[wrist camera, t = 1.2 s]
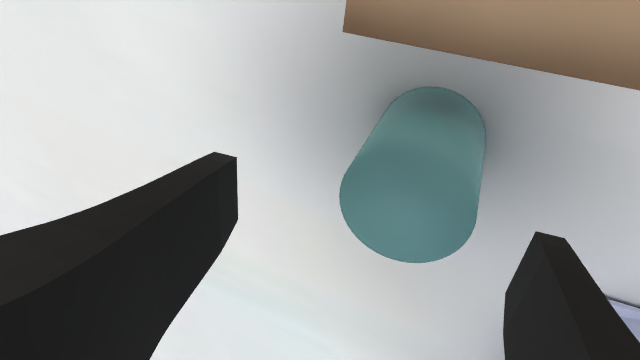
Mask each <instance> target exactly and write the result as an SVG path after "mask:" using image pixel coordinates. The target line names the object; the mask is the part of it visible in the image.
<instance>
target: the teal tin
mask: <svg viewBox="0 0 640 360" xmlns="http://www.w3.org/2000/svg"><path fill="white" fill-rule="evenodd" d="M485 141H486V131H485V126H484V123H483V120H482V117H481V116H480V114H479V112H478V111H477V109H476V108H475V107H474V105H473V104H472V103H471V102H470V101H468V100H467V99H466V98H465V97H463V96H461V95H460V94H458V93H456V92H454V91H451V90H448V89H445V88H439V87H422V88H417V89H414V90H411V91H408V92H406V93H404V94H402V95H401V96H399V97H398V98H397V99H396V100H394V101H393V102H392V103H391V105H390V106H389V107H388V108H387V110H386V111H385V113H384V114H383V116H382V118H381V119H380V121H379V122H378V124H377V125H376V127H375V128H374V130H373V131H372V133H371V134H370V136H369V138H368V139H367V141H366V142H365V144H364V145H363V147H362V148H361V150H360V151H359V153H358V154H357V156H356V158H355V159H354V161H353V162H352V164H351V165H350V167H349V168H348V170H347V172H346V173H345V175H344V177H343V180H342V183H341V187H340V196H339V197H340V206H341V211H342V214H343V217H344V219H345V221H346V223H347V225H348V226H349V228H350V229H351V231H352V232H353V233H354V234H355V236H356V237H357V238H358V239H359V240H360V241H361V242H362V243H363V244H365V245H366V246H367V247H369V248H370V249H372V250H373V251H375V252H377V253H379V254H381V255H383V256H385V257H388V258H390V259H394V260H398V261H402V262H409V263H425V262H431V261H436V260H439V259H442V258H444V257H447V256H449V255H451V254H452V253H454V252H456V251H457V250H458V249H459V248H460V247H462V246H463V245H464V243H465V242H466V241H467V240H468V238H469V237H470V235H471V234H472V231H473V229H474V226H475V223H476V218H477V209H478V201H479V192H480V184H481V176H482V167H483V159H484V150H485Z"/></svg>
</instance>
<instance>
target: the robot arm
mask: <svg viewBox="0 0 640 360" xmlns="http://www.w3.org/2000/svg"><path fill="white" fill-rule="evenodd" d="M237 220H238V197H237V157H233V156H229V155H225V154H221V153H217V152H213V153H211V154H208V155H206V156H204V157H202V158H199V159H197V160H195V161H193V162H191V163H189V164H187V165H185V166H183V167H181V168H179V169H177V170H175V171H173V172H171V173H169V174H167V175H164V176H162V177H160V178H158V179H156V180H154V181H152V182H150V183H148V184H146V185H144V186H141V187H139V188H137V189H134V190H132V191H130V192H127V193H125V194H123V195H120V196H118V197H116V198H113V199H111V200H109V201H107V202H104V203H102V204H99V205H97V206H94V207H91V208H89V209H86V210H83V211H81V212H78V213H75V214H72V215H69V216H66V217H63V218H60V219H57V220H54V221H51V222H48V223H44V224H40V225H37V226H33V227H30V228H26V229H22V230H19V231H15V232H12V233H8V234H4V235H1V236H0V360H149V359H150V358H151V356H152V354H153V352H154V350H155V349H156V347H157V345H158V343H159V342H160V340H161V338H162V336H163V335H164V333H165V332H166V330H167V329H168V327H169V325H170V324H171V322H172V321H173V319H174V318H175V317H176V315H177V314H178V312H179V311H180V309H181V308H182V307H183V305H184V304H185V302H186V301H187V300H188V298H189V297H190V295H191V294H192V293H193V291H194V290H195V288H196V287H197V286H198V284H199V283H200V281H201V280H202V279H203V277H204V276H205V274H206V273H207V272H208V270H209V269H210V267H211V266H212V264H213V263H214V262H215V260H216V259H217V257H218V256H219V254H220V253H221V251H222V249H223V248H224V246H225V244H226V242H227V240H228V238H229V236H230V234H231V232H232V230H233V228H234V226H235V224H236V222H237ZM503 337H504V351H505V360H640V309H639V308H636V307H633V306H629V305H626V304H623V303H619V302H616V301H613V300H609V299H607V298H606V297H605V295H604V294H603V293H602V291H601V290H600V288H599V287H598V285H597V284H596V283H595V281H594V280H593V278H592V277H591V275H590V274H589V272H588V271H587V269H586V268H585V267H584V265H583V264H582V262H581V261H580V259H579V258H578V256H577V255H576V253H575V252H574V250H573V249H572V248H571V246H570V245H569V243H568V242H567V241H566V239H565V238H561V237H557V236H553V235H549V234H545V233H541V232H537V231H536V232H535V234H534V236H533V238H532V240H531V242H530V244H529V246H528V248H527V250H526V252H525V254H524V256H523V258H522V260H521V262H520V264H519V266H518V268H517V270H516V272H515V275H514V277H513V279H512V281H511V283H510V285H509V287H508V289H507V291H506V293H505V308H504V327H503Z"/></svg>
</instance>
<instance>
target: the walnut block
mask: <svg viewBox="0 0 640 360" xmlns="http://www.w3.org/2000/svg"><path fill="white" fill-rule="evenodd" d="M343 32H346V33H351V34H356V35H361V36H366V37H371V38H376V39H381V40H386V41H391V42H396V43H402V44H407V45H412V46H417V47H422V48H427V49H432V50H437V51H442V52H447V53H452V54H458V55H463V56H468V57H473V58H478V59H483V60H488V61H493V62H498V63H503V64H508V65H514V66H519V67H524V68H529V69H534V70H539V71H544V72H549V73H554V74H559V75H565V76H570V77H575V78H580V79H585V80H590V81H595V82H600V83H605V84H610V85H615V86H621V87H626V88H631V89H636V90H640V0H347V2H346V10H345V18H344V26H343Z"/></svg>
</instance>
